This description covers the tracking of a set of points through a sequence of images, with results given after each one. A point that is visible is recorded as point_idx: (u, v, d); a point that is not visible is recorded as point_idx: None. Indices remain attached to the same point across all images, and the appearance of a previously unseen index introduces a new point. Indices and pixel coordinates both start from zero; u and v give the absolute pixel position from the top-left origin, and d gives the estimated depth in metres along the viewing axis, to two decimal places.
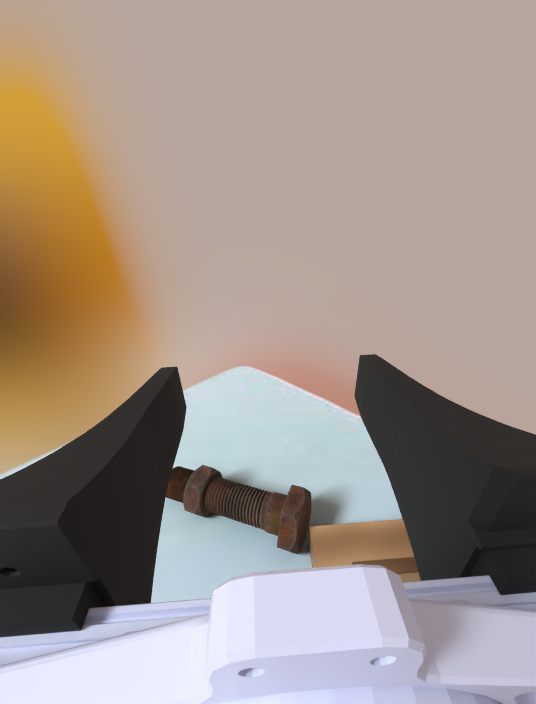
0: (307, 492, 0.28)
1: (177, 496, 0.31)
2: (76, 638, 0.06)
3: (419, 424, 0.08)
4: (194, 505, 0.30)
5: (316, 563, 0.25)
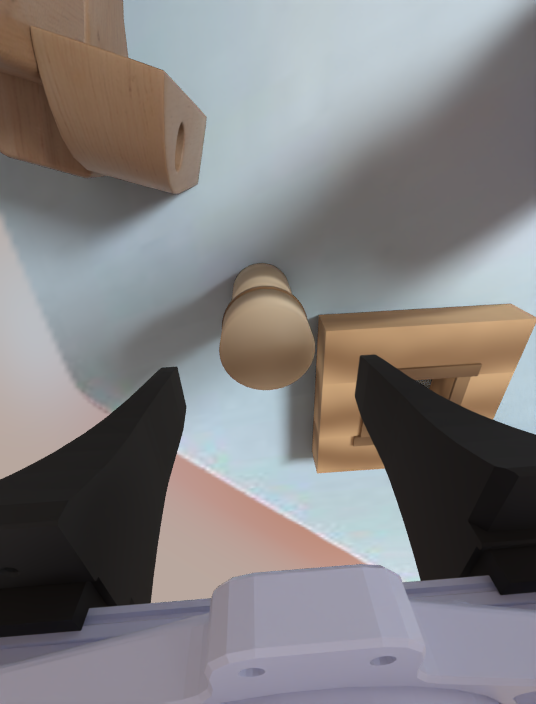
0: None
1: None
2: (76, 638, 0.06)
3: (419, 424, 0.08)
4: None
5: None
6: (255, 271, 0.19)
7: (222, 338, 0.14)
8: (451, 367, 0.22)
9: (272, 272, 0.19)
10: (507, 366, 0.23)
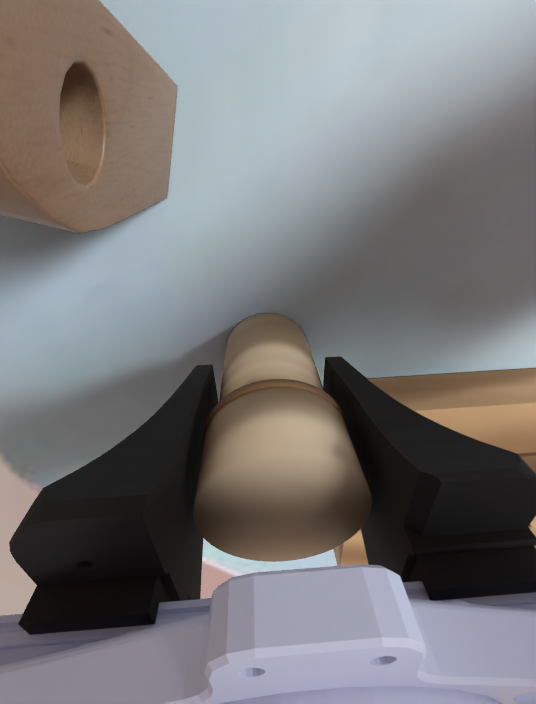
0: None
1: None
2: None
3: (368, 427, 0.08)
4: None
5: None
6: (259, 331, 0.12)
7: (198, 500, 0.07)
8: None
9: (285, 332, 0.12)
10: None
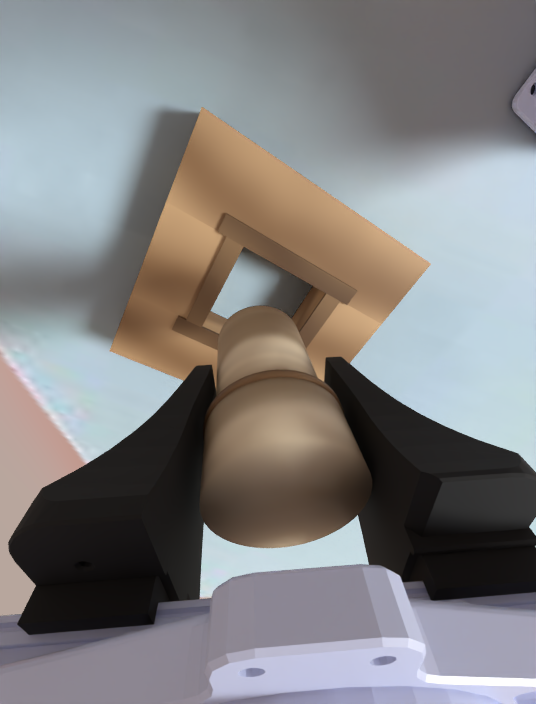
0: None
1: None
2: None
3: (368, 428, 0.08)
4: None
5: None
6: (248, 325, 0.12)
7: (203, 495, 0.07)
8: (326, 274, 0.18)
9: (274, 324, 0.12)
10: (379, 312, 0.19)
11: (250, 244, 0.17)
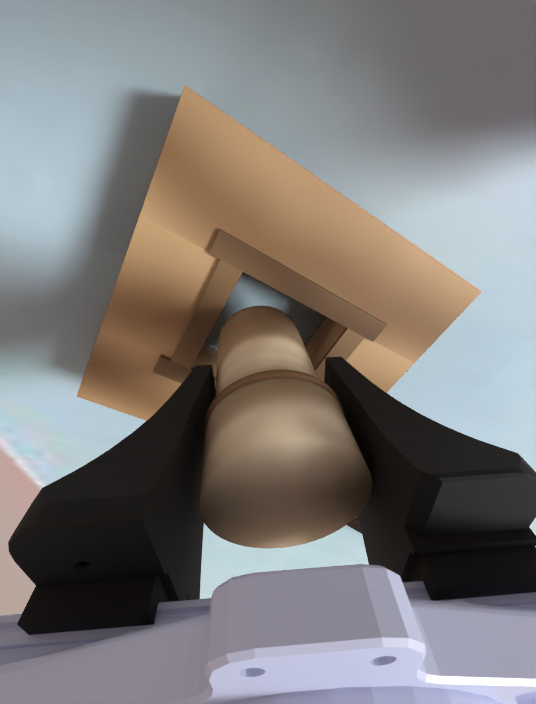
0: None
1: None
2: None
3: (369, 427, 0.08)
4: None
5: None
6: (248, 325, 0.12)
7: (203, 496, 0.07)
8: (348, 305, 0.14)
9: (274, 324, 0.12)
10: (412, 349, 0.15)
11: (251, 268, 0.13)
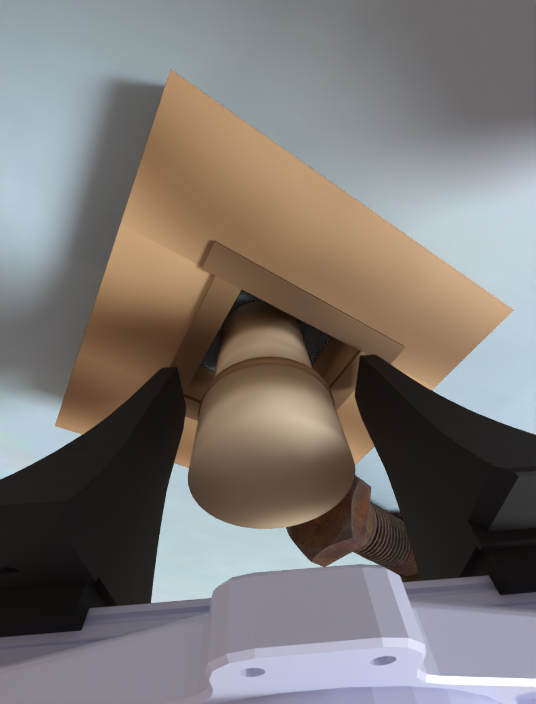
0: (305, 550, 0.17)
1: None
2: (76, 638, 0.06)
3: (419, 424, 0.08)
4: None
5: None
6: (249, 318, 0.13)
7: (191, 469, 0.08)
8: (362, 326, 0.12)
9: (274, 317, 0.13)
10: (432, 373, 0.14)
11: (251, 286, 0.11)
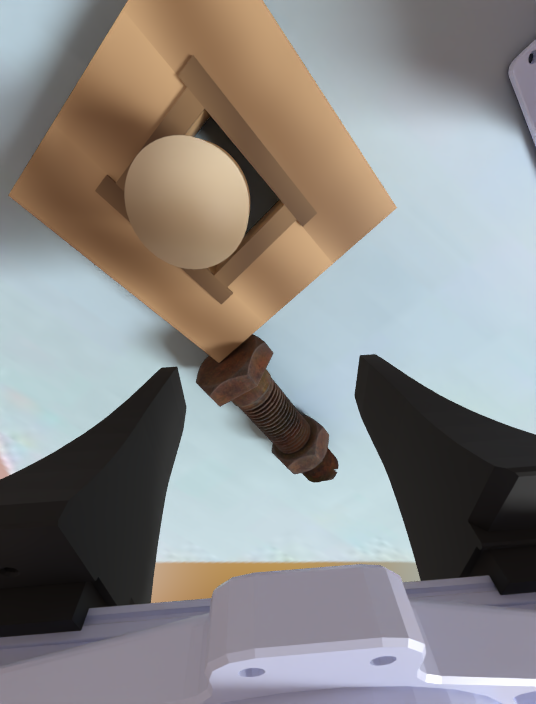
0: (206, 387, 0.20)
1: (327, 450, 0.27)
2: (76, 638, 0.06)
3: (419, 424, 0.08)
4: (321, 435, 0.25)
5: (250, 333, 0.20)
6: None
7: (130, 171, 0.11)
8: (289, 180, 0.16)
9: None
10: (333, 248, 0.18)
11: (213, 108, 0.14)
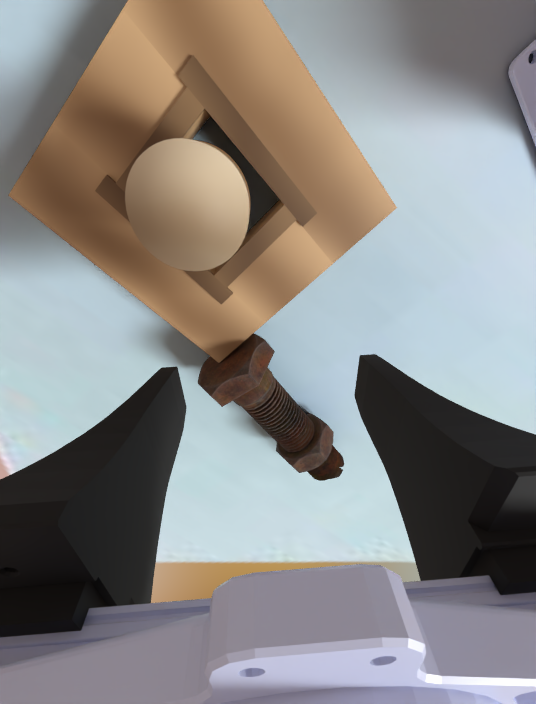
0: (208, 388, 0.20)
1: (331, 448, 0.27)
2: (76, 638, 0.06)
3: (419, 424, 0.08)
4: (325, 433, 0.25)
5: (250, 333, 0.20)
6: None
7: (130, 174, 0.11)
8: (289, 180, 0.16)
9: None
10: (333, 248, 0.18)
11: (213, 108, 0.14)
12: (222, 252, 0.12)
